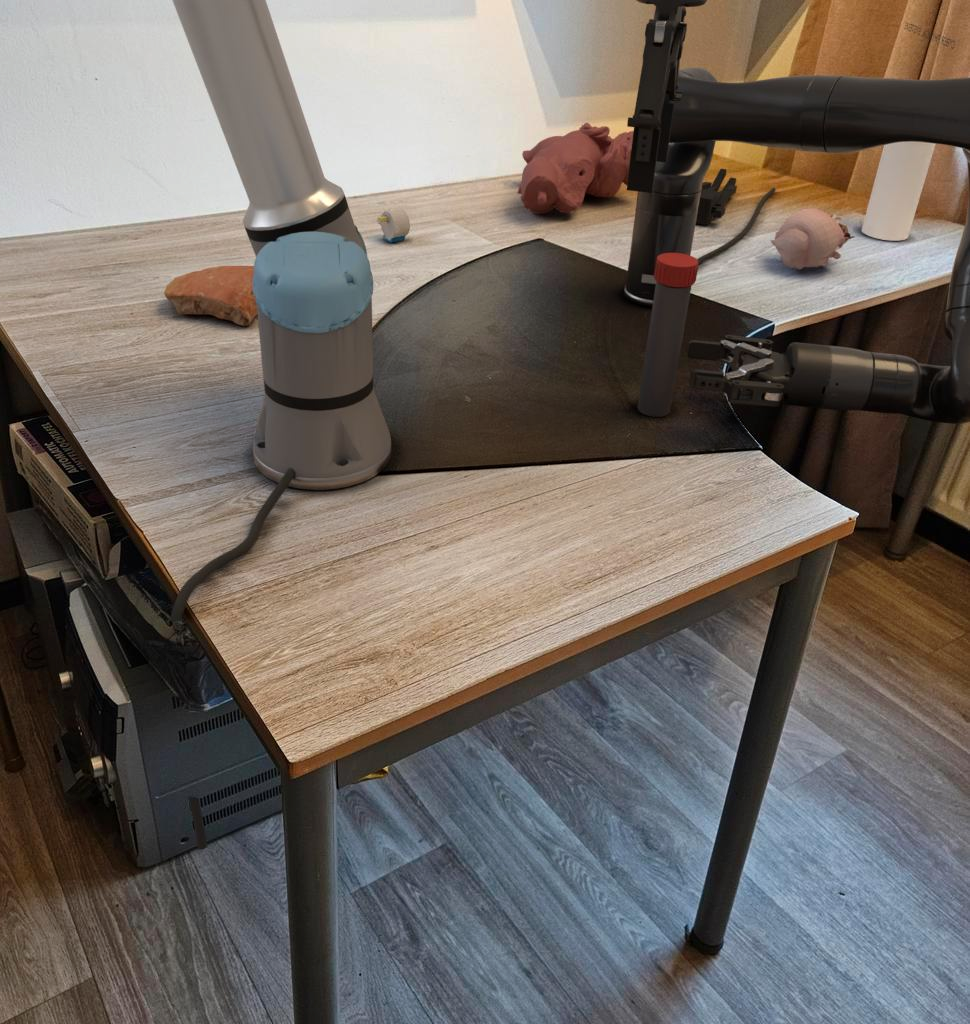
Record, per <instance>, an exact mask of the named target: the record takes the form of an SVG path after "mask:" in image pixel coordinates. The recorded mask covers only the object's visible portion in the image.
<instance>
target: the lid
mask: <svg viewBox="0 0 970 1024" xmlns="http://www.w3.org/2000/svg"><path fill="white" fill-rule="evenodd" d="M697 259H698V258H696V257H694V256H692V255H686V254H682V253H664V254H660V255H659V256H658V257H657V261H656V265H655V272H654V279H655V280H656V281H657V282H658V283H660V284H663V285H666V286H671V287H688V286H691V285H692V286H694V284H695V283H696V281H697V276H698V271H699V265H698V260H697ZM692 286H691V287H692Z"/></svg>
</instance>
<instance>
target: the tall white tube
mask: <svg viewBox="0 0 970 1024" xmlns="http://www.w3.org/2000/svg"><path fill="white" fill-rule="evenodd" d="M904 30H905V31H907V32H910V33H912V32H913V34H915V33H916V34H917V35H918V36H921V37H923V38H924V37H925V39H928V40H930V41H931V40H932V41H933V42H937V40H938V44H939V43H940V44H942V45H943V46H946V47H947V48H948V47H949V49H950V48H951V49H952V50H953V49H954V48H955V45H956V40H954V39H951V38H948V37H946V36H942V37H941V34H938V35H937V33H934V32H933V31H931V30H926V29H923V34H921V31H922V27H920V26H918V25H915V24H912V23H909V22H908V21H907V22H905V26H904ZM927 33H928V35H927ZM940 37H941V38H940ZM940 39H941V42H940ZM945 39H946V40H945ZM944 42H945V43H944ZM952 43H954V44H953V46H952ZM936 145H937V144H934V143H925V142H898V143H892V144H888V145H883V148H882V151H881V155H880V159H879V163H878V166H877V170H876V174H875V177H874V182H873V185H872V189H871V193H870V196H869V201H868V203H867V208H866V212H865V215H864V220H863V222H862V227H861V232H862V233H863V234H864V235H866V236H868V237H871V238H873V239H878V240H884V241H893V242H895V241H897V242H898V241H899V242H900V241H905V240H907V239H909V236H910V233H911V229H912V226H913V222H914V219H915V215H916V211H917V210H918V209H917V208H918V206H919V202H920V198H921V195H922V191H923V188H924V184H925V182H926V178H927V175H928V171H929V169H930V165H931V161H932V158H933V155H934V151H935V148H936Z"/></svg>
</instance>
